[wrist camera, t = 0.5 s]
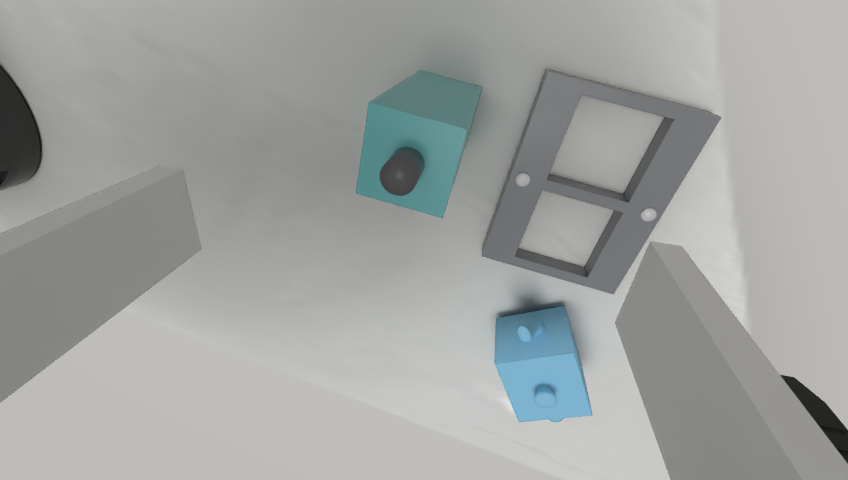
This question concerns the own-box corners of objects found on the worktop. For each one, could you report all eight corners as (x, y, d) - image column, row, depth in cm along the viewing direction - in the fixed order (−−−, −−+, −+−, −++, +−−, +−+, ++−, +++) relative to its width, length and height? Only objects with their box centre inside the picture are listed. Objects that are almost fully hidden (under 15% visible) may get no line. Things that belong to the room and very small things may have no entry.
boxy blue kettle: (485, 282, 35) (480, 341, 29) (554, 267, 33) (565, 327, 27) (521, 376, 40) (523, 445, 34) (583, 368, 38) (598, 440, 32)
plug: (407, 132, 30) (341, 210, 18) (420, 70, 28) (354, 111, 16) (464, 148, 30) (436, 237, 18) (482, 87, 28) (462, 141, 16)
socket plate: (482, 246, 34) (481, 257, 32) (546, 68, 26) (548, 71, 25) (609, 283, 33) (614, 295, 32) (710, 112, 26) (722, 118, 24)
